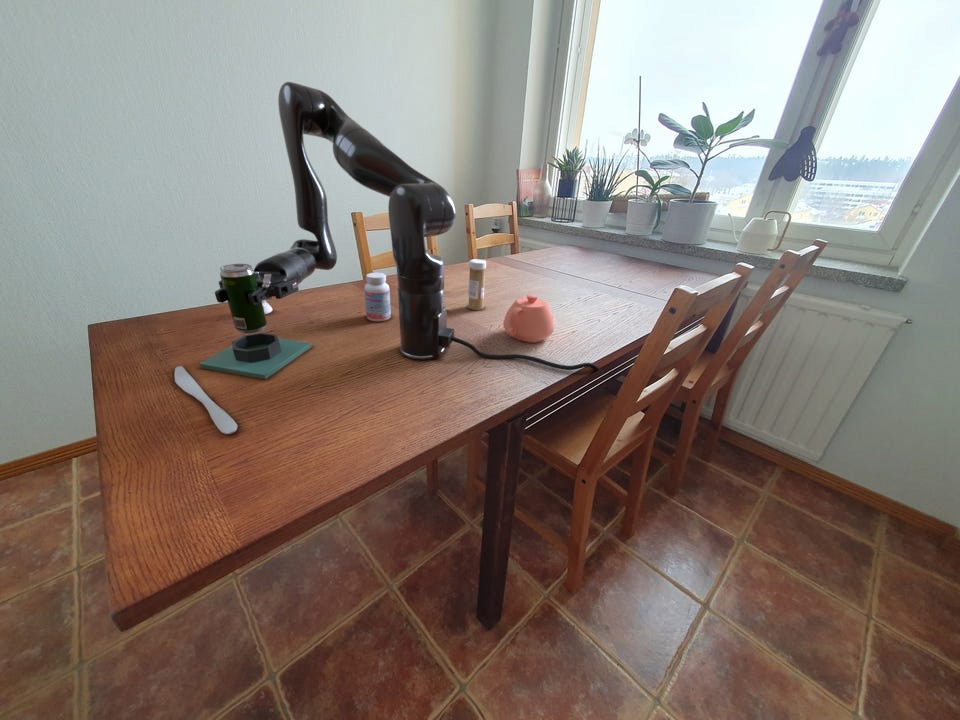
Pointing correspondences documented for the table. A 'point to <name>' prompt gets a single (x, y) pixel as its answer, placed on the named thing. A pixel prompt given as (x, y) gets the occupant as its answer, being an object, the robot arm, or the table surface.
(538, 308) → the sugar bowl
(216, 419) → the butter knife
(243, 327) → the beer can
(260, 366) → the dock
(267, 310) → the white truncated cone
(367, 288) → the pill bottle
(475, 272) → the sprinkles bottle
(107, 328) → the table surface
